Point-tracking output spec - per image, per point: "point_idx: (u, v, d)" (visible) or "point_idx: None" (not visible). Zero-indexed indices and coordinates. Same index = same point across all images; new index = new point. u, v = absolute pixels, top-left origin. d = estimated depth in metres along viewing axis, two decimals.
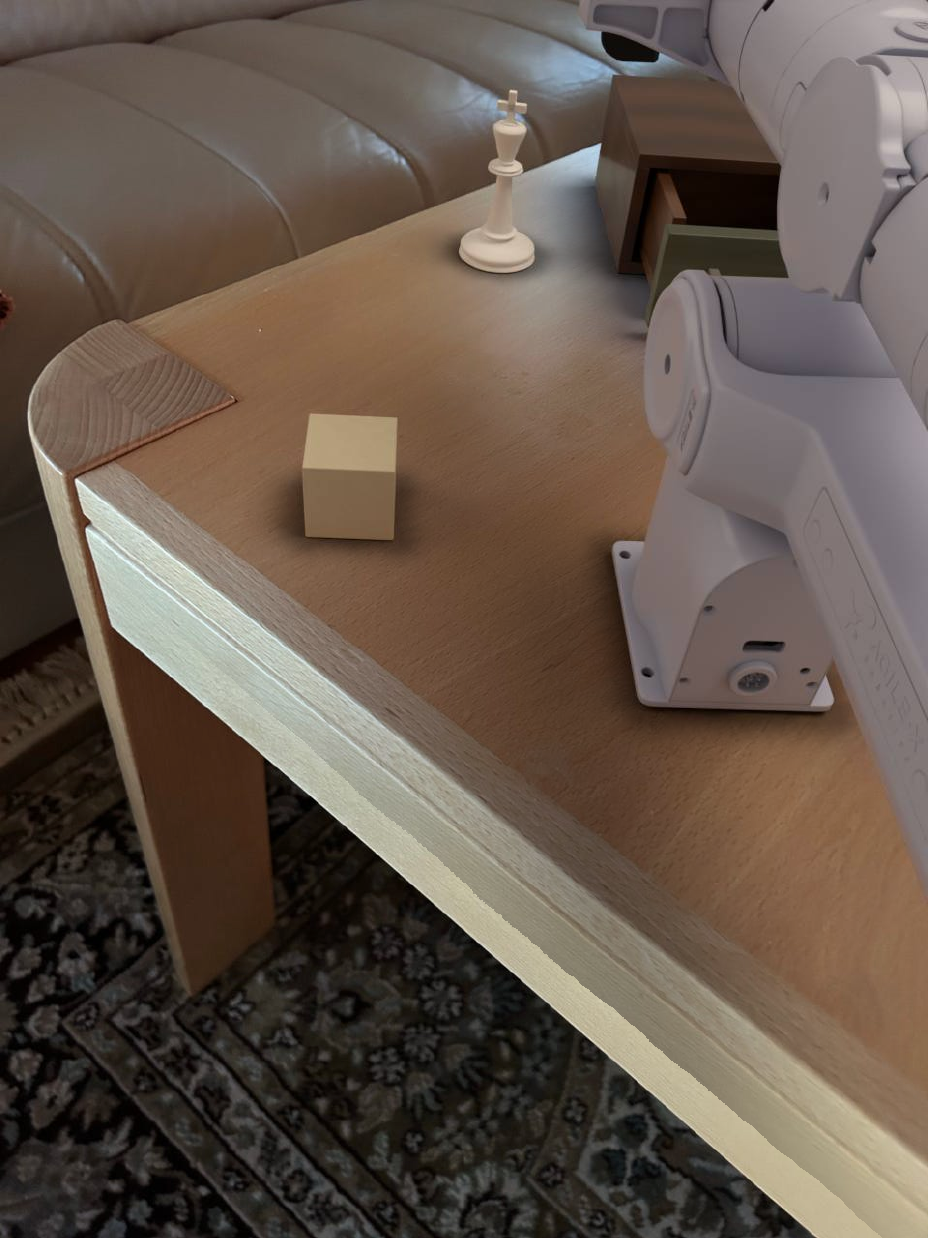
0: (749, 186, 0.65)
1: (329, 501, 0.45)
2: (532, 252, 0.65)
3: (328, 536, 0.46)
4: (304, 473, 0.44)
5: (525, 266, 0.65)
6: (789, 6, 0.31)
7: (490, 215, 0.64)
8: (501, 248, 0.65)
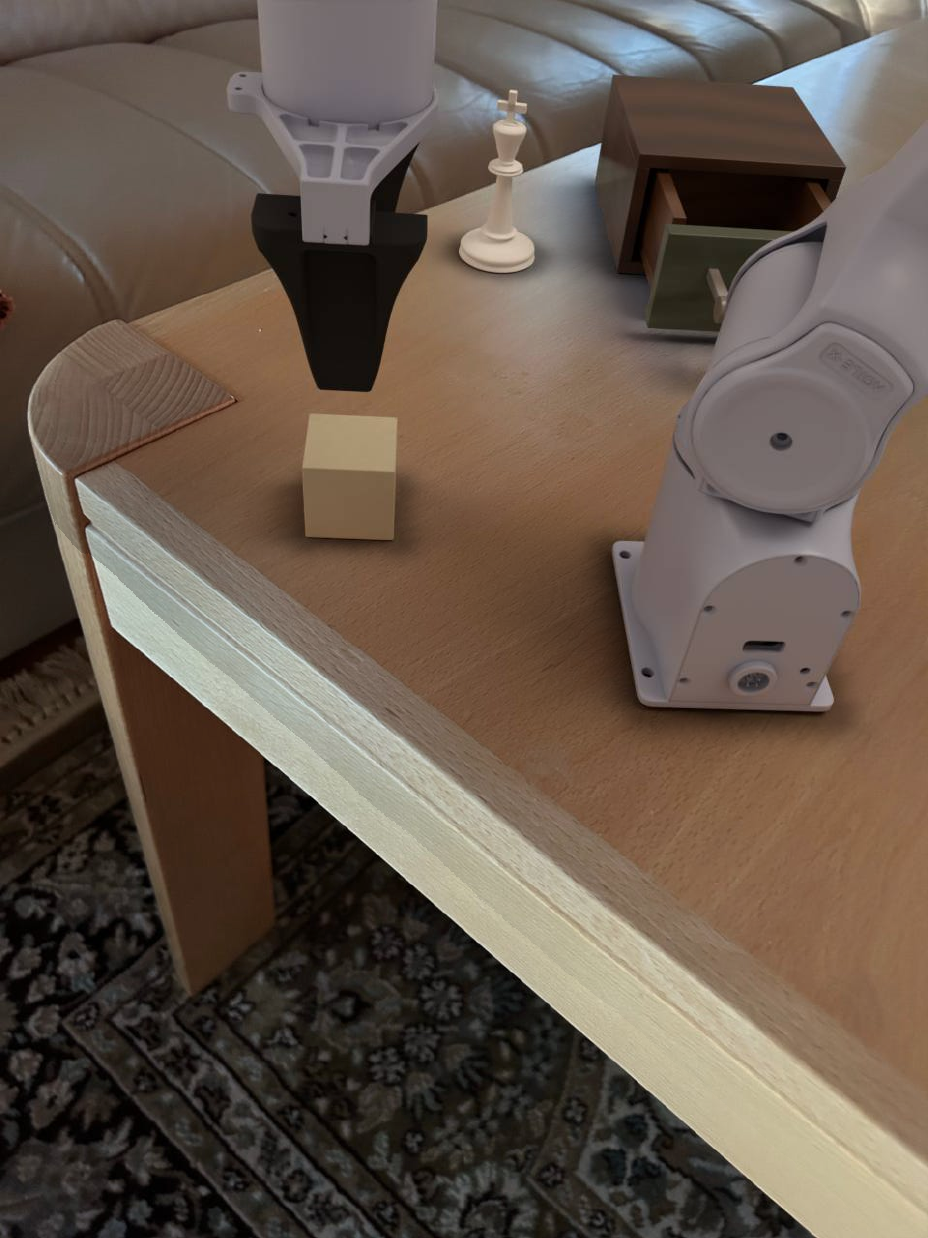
0: (749, 186, 0.65)
1: (329, 501, 0.45)
2: (532, 252, 0.65)
3: (328, 536, 0.46)
4: (304, 473, 0.44)
5: (525, 266, 0.65)
6: None
7: (490, 215, 0.64)
8: (501, 248, 0.65)
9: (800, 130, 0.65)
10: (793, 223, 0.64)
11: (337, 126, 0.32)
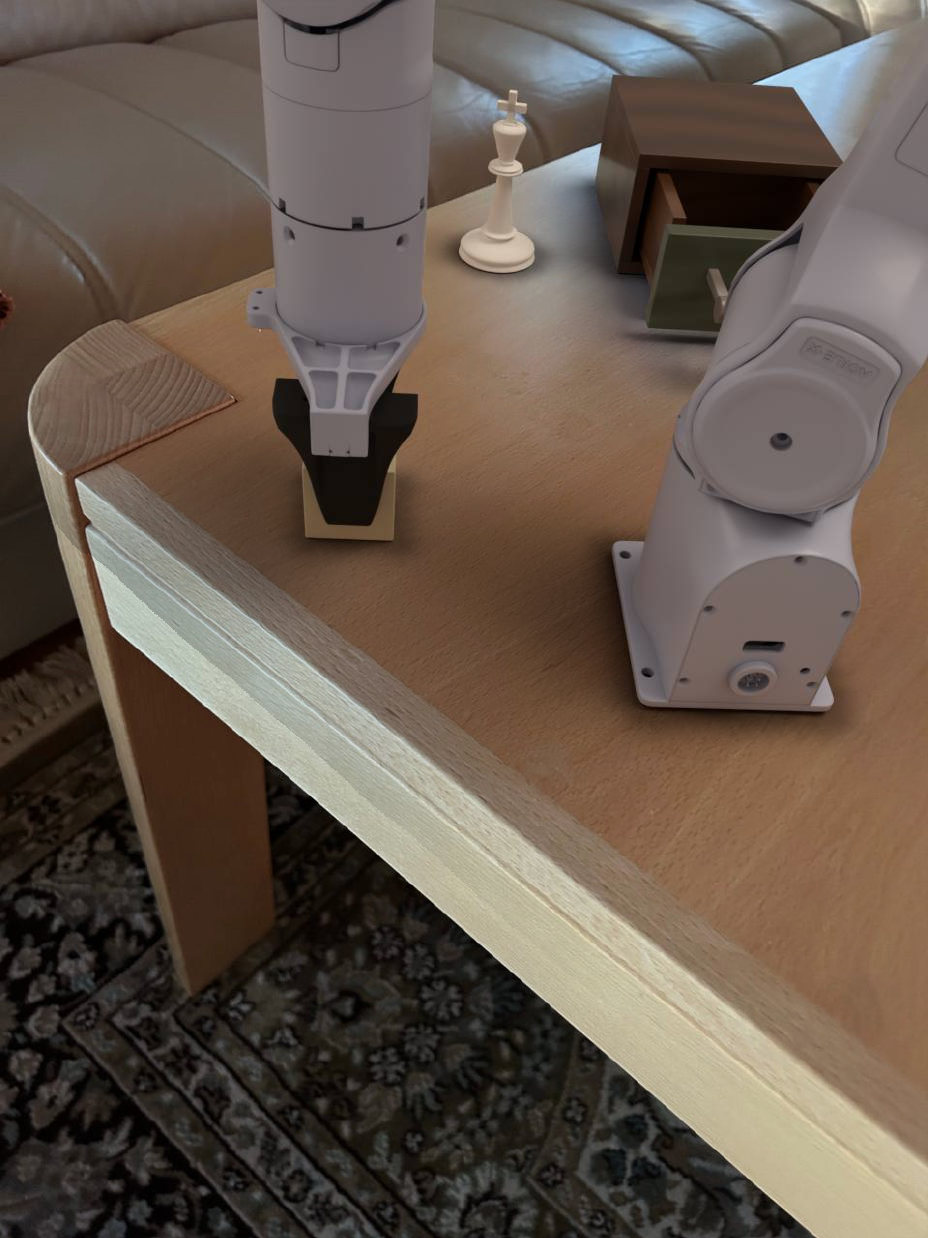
0: (749, 186, 0.65)
1: None
2: (532, 252, 0.65)
3: (328, 537, 0.46)
4: (304, 474, 0.44)
5: (525, 266, 0.65)
6: (274, 164, 0.35)
7: (490, 215, 0.64)
8: (501, 248, 0.65)
9: (800, 130, 0.65)
10: (793, 223, 0.64)
11: (340, 348, 0.38)
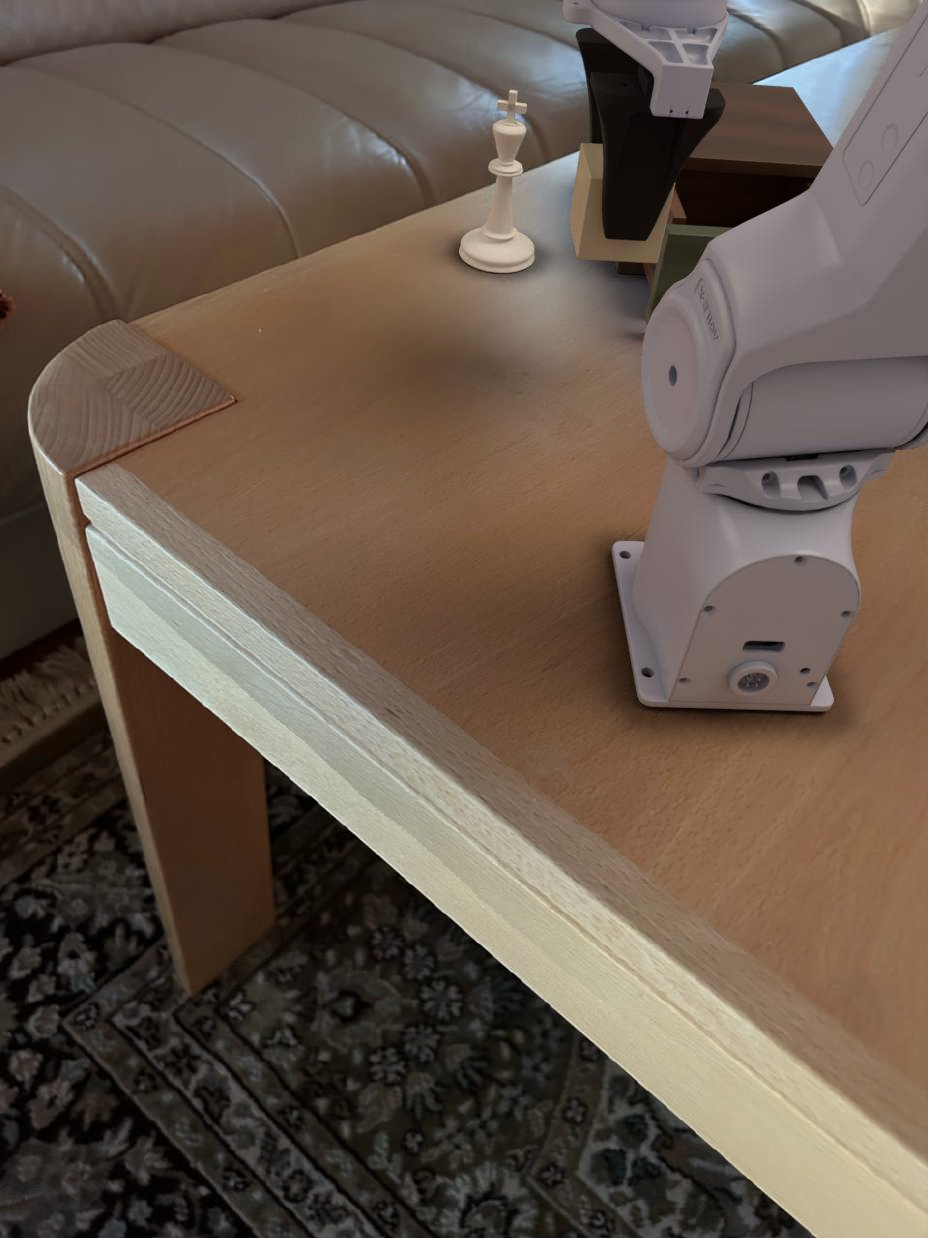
0: (749, 186, 0.65)
1: None
2: (532, 252, 0.65)
3: (598, 258, 0.50)
4: (591, 184, 0.47)
5: (525, 266, 0.65)
6: None
7: (490, 215, 0.64)
8: (501, 248, 0.65)
9: (800, 130, 0.65)
10: None
11: (666, 29, 0.41)
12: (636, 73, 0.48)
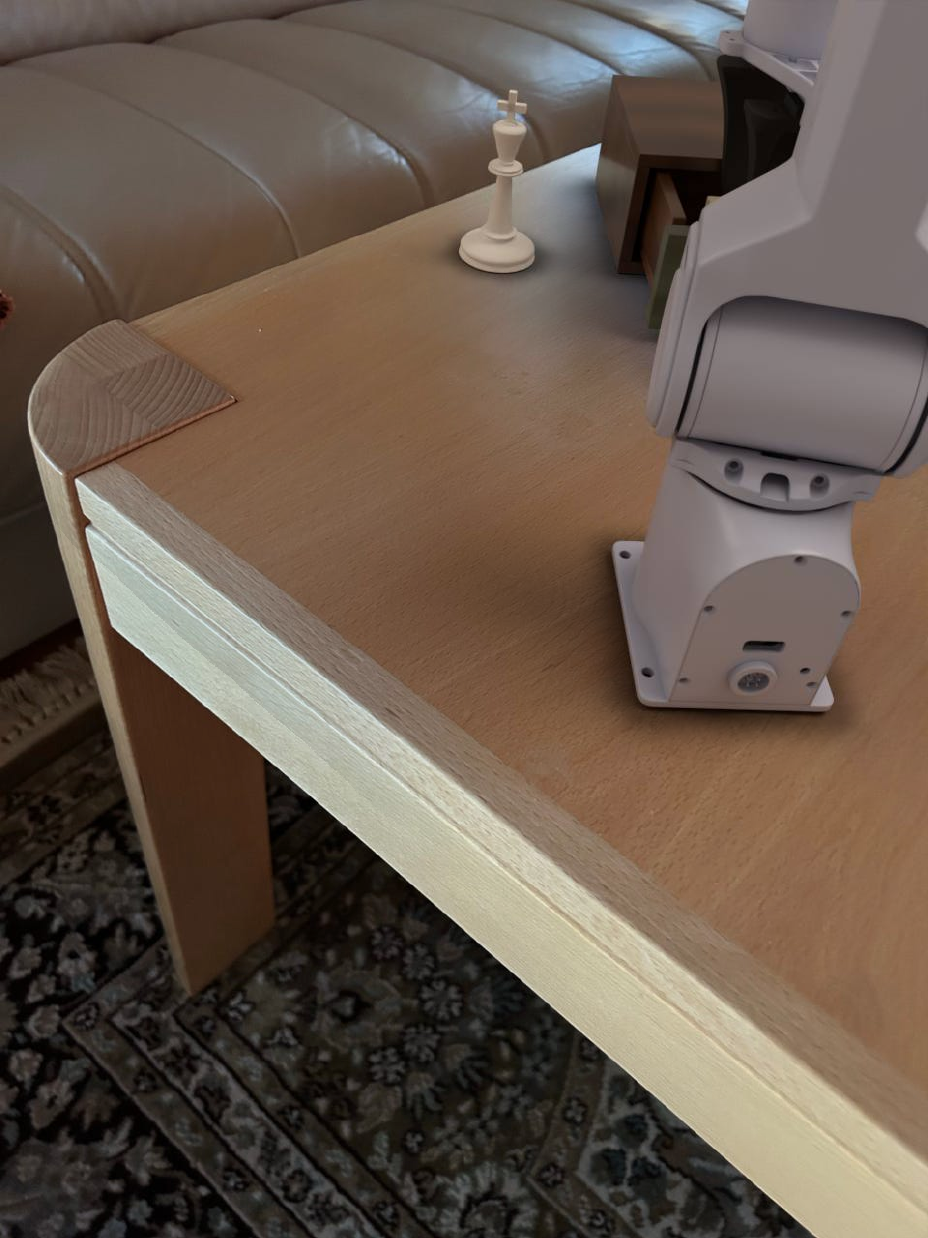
0: None
1: None
2: (532, 252, 0.65)
3: None
4: None
5: (525, 266, 0.65)
6: None
7: (490, 215, 0.64)
8: (501, 248, 0.65)
9: None
10: None
11: (810, 61, 0.51)
12: (768, 92, 0.57)
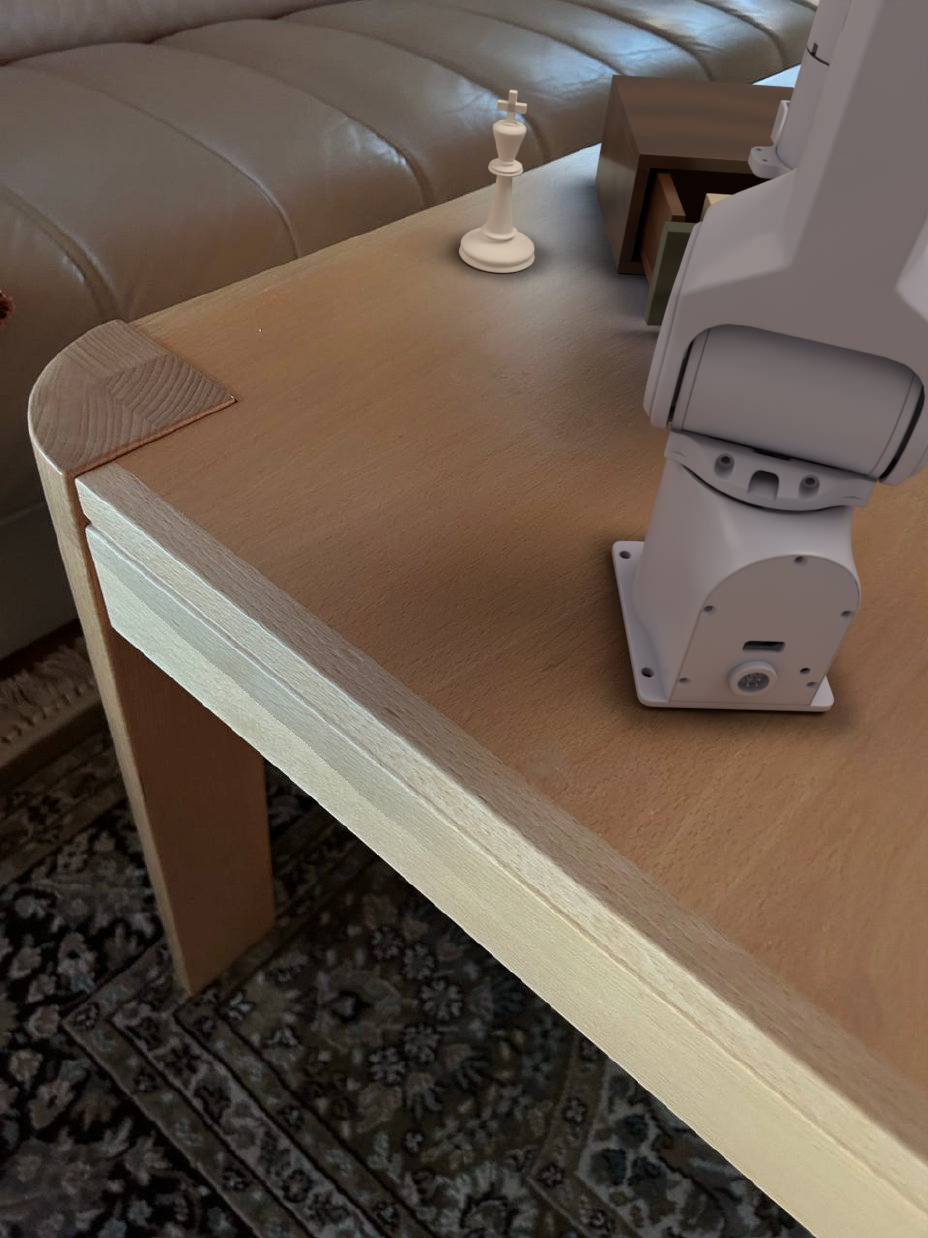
0: (748, 184, 0.65)
1: None
2: (532, 252, 0.65)
3: None
4: None
5: (525, 266, 0.65)
6: None
7: (490, 215, 0.64)
8: (501, 248, 0.65)
9: None
10: None
11: None
12: None
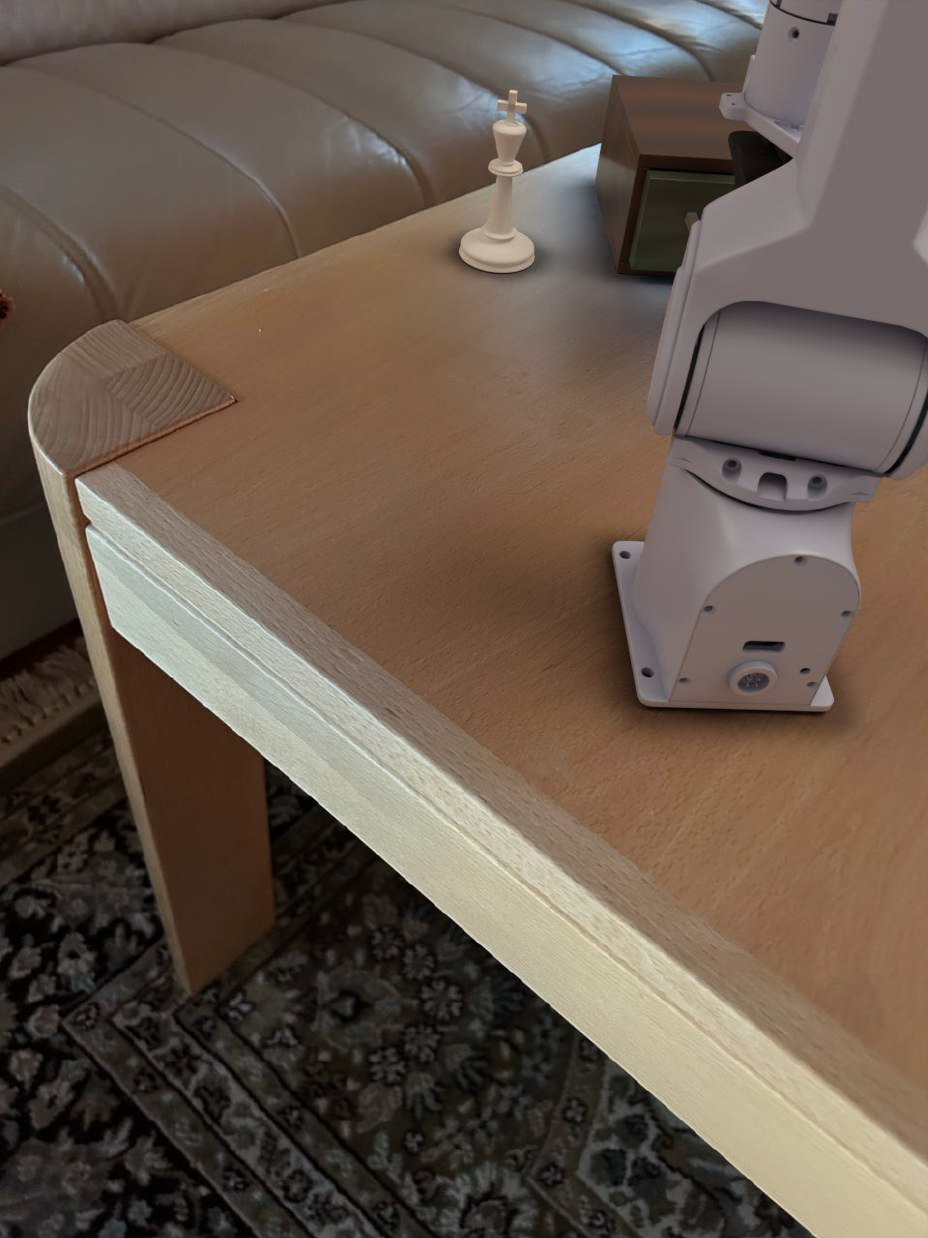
0: None
1: None
2: (532, 252, 0.65)
3: None
4: None
5: (525, 266, 0.65)
6: None
7: (490, 215, 0.64)
8: (501, 248, 0.65)
9: None
10: None
11: None
12: None
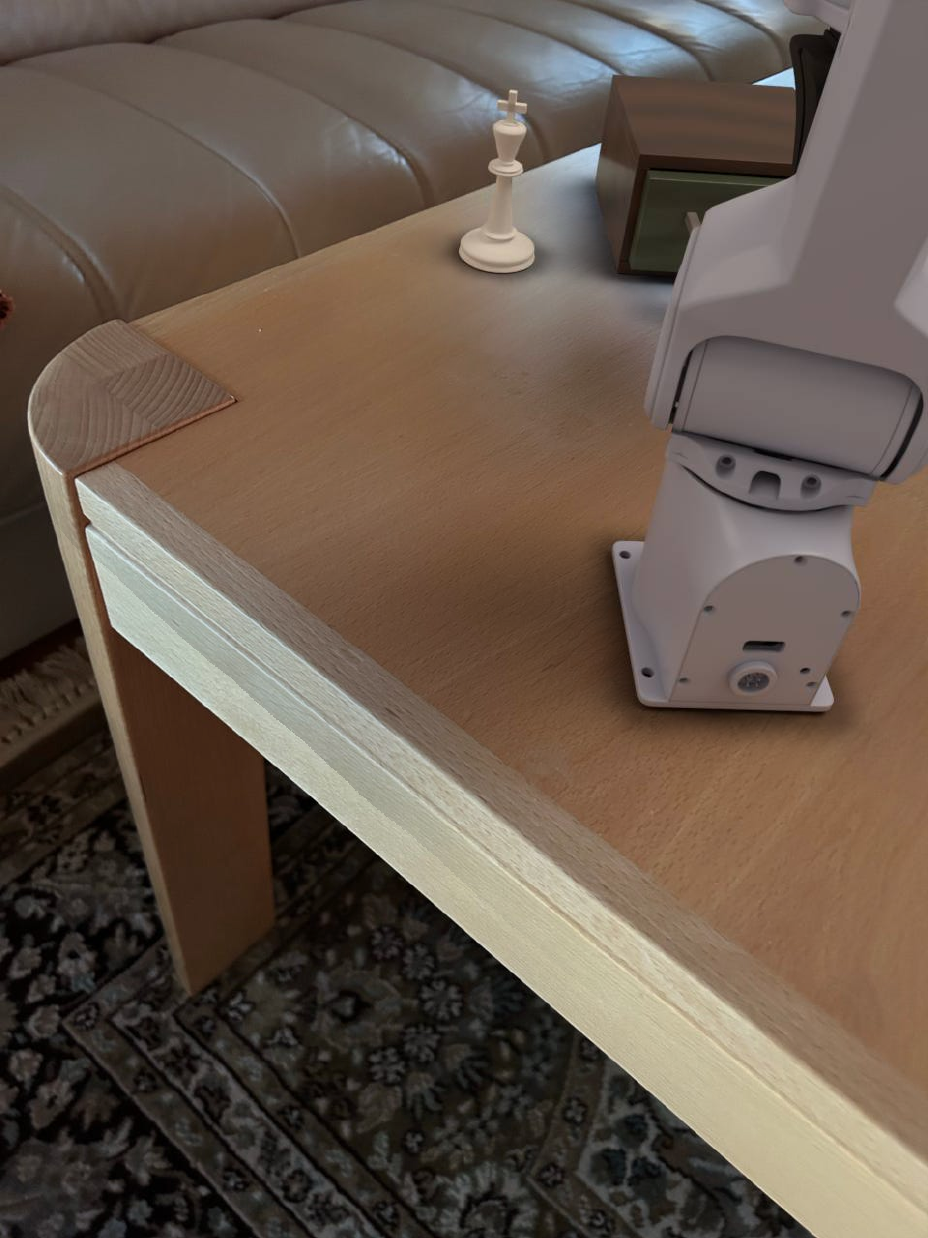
0: None
1: None
2: (532, 252, 0.65)
3: None
4: None
5: (525, 266, 0.65)
6: None
7: (490, 215, 0.64)
8: (501, 248, 0.65)
9: None
10: (768, 175, 0.69)
11: None
12: None
